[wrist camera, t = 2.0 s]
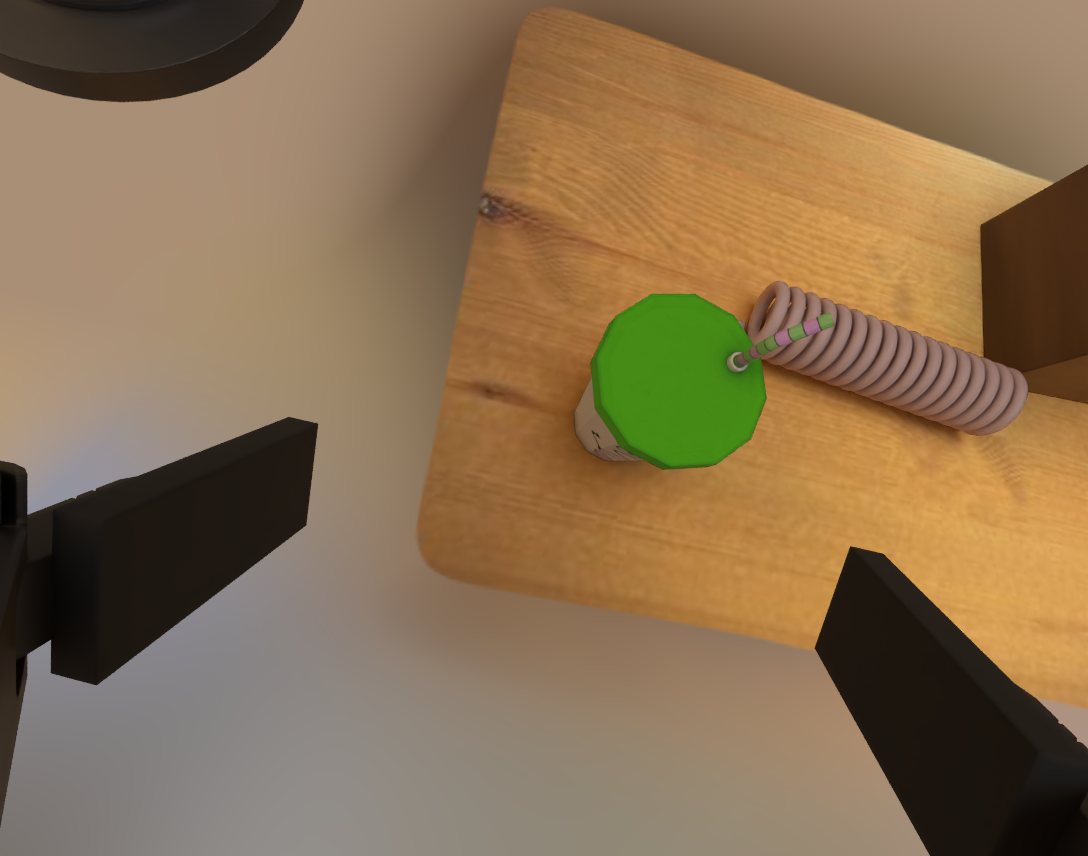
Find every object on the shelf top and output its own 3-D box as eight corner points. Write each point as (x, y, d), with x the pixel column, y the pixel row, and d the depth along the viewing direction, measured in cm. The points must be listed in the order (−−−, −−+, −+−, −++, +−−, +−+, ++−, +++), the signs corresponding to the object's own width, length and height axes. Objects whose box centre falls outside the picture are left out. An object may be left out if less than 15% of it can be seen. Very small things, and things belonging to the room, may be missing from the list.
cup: (532, 470, 35) (613, 419, 20) (562, 343, 37) (656, 212, 22) (660, 503, 36) (823, 477, 21) (683, 378, 38) (849, 277, 23)
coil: (759, 341, 34) (1031, 438, 37) (779, 264, 35) (1045, 365, 37) (721, 357, 39) (965, 443, 41) (739, 289, 39) (978, 377, 42)
